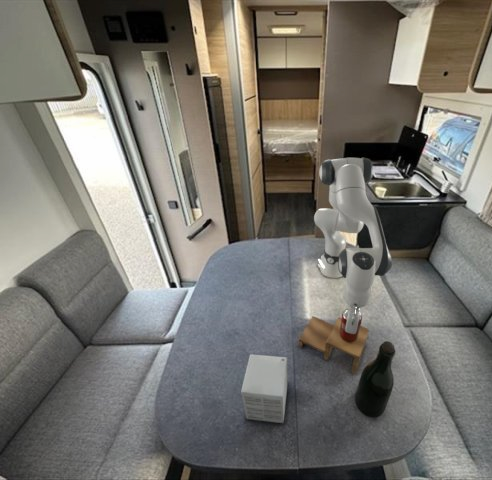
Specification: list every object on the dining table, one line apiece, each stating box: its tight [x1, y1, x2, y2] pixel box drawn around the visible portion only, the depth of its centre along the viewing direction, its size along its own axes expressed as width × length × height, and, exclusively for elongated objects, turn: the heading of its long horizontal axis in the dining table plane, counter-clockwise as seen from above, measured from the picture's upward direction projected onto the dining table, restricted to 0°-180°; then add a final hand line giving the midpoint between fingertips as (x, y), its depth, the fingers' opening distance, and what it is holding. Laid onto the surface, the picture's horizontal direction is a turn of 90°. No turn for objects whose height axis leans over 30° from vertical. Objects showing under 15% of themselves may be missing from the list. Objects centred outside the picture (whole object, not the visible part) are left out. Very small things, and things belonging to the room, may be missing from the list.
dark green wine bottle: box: [354, 340, 396, 419], centre depth 84 cm, size 10×10×33 cm
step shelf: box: [298, 315, 370, 374], centre depth 109 cm, size 14×25×11 cm, turn 61°
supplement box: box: [240, 353, 289, 424], centre depth 89 cm, size 13×13×18 cm
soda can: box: [339, 307, 363, 342], centre depth 100 cm, size 7×7×12 cm
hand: (351, 321), depth 99 cm, fingers open, 8 cm apart
